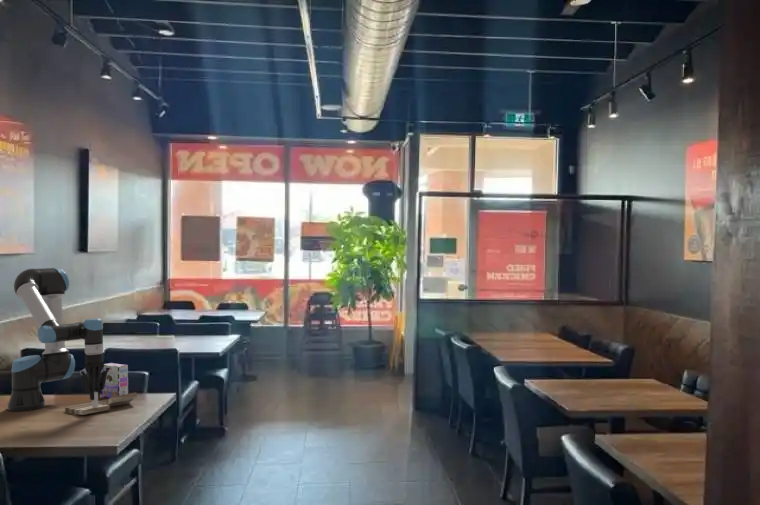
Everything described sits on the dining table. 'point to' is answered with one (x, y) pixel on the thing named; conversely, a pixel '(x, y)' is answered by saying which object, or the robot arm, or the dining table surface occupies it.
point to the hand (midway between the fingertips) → (95, 406)
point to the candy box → (116, 380)
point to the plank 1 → (91, 409)
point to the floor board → (82, 406)
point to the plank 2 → (121, 399)
